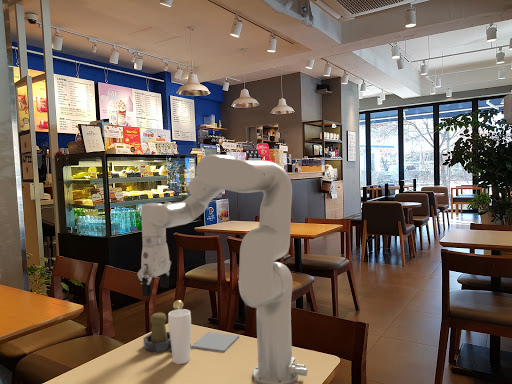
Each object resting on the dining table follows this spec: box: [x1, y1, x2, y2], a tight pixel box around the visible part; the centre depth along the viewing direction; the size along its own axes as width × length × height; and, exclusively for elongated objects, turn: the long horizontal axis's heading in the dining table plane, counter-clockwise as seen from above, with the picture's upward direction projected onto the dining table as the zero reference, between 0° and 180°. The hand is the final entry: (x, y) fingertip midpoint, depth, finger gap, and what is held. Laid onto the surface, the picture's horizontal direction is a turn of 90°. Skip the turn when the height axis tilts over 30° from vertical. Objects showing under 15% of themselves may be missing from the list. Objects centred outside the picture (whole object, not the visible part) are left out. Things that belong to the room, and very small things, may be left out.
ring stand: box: [143, 299, 192, 354], centre depth 130 cm, size 15×10×16 cm, turn 69°
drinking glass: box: [167, 308, 192, 365], centre depth 120 cm, size 7×7×15 cm
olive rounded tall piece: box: [149, 312, 168, 343], centre depth 131 cm, size 6×6×11 cm
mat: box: [190, 331, 240, 353], centre depth 133 cm, size 12×12×1 cm
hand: (156, 291), depth 131 cm, fingers open, 9 cm apart
